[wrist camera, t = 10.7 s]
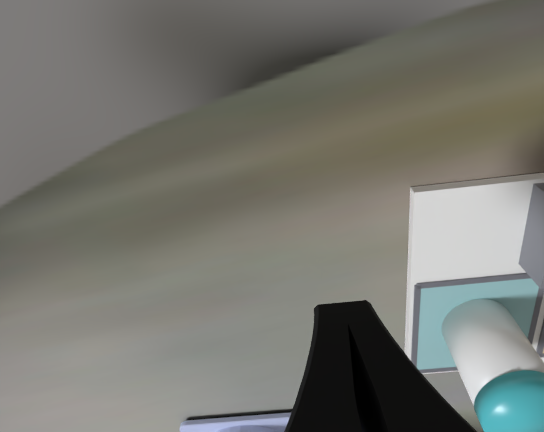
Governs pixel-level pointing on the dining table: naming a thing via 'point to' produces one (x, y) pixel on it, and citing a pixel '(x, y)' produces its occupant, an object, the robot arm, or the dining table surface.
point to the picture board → (473, 259)
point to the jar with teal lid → (496, 366)
